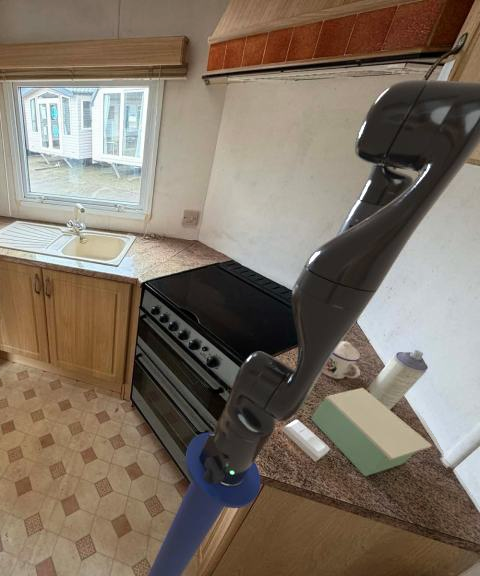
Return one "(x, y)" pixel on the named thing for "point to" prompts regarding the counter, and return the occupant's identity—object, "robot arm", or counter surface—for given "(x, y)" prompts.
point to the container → (353, 441)
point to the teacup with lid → (342, 361)
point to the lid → (378, 423)
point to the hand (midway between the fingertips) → (328, 289)
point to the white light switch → (306, 440)
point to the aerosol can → (397, 377)
